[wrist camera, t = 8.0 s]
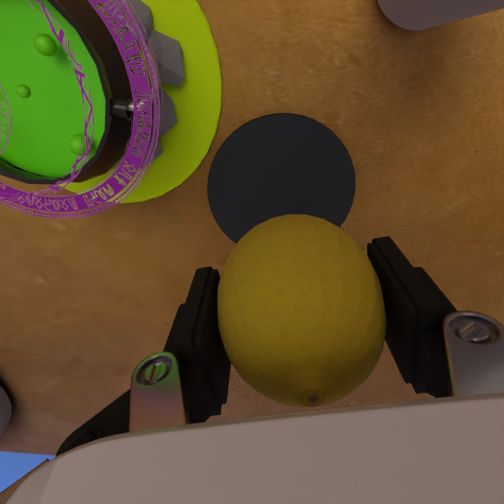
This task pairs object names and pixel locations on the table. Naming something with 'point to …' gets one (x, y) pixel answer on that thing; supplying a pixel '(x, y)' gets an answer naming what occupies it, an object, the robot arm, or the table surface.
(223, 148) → the disc
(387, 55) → the table surface
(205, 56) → the toy cauldron
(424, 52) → the table surface
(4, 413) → the dish
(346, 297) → the lemon
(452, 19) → the beverage can
